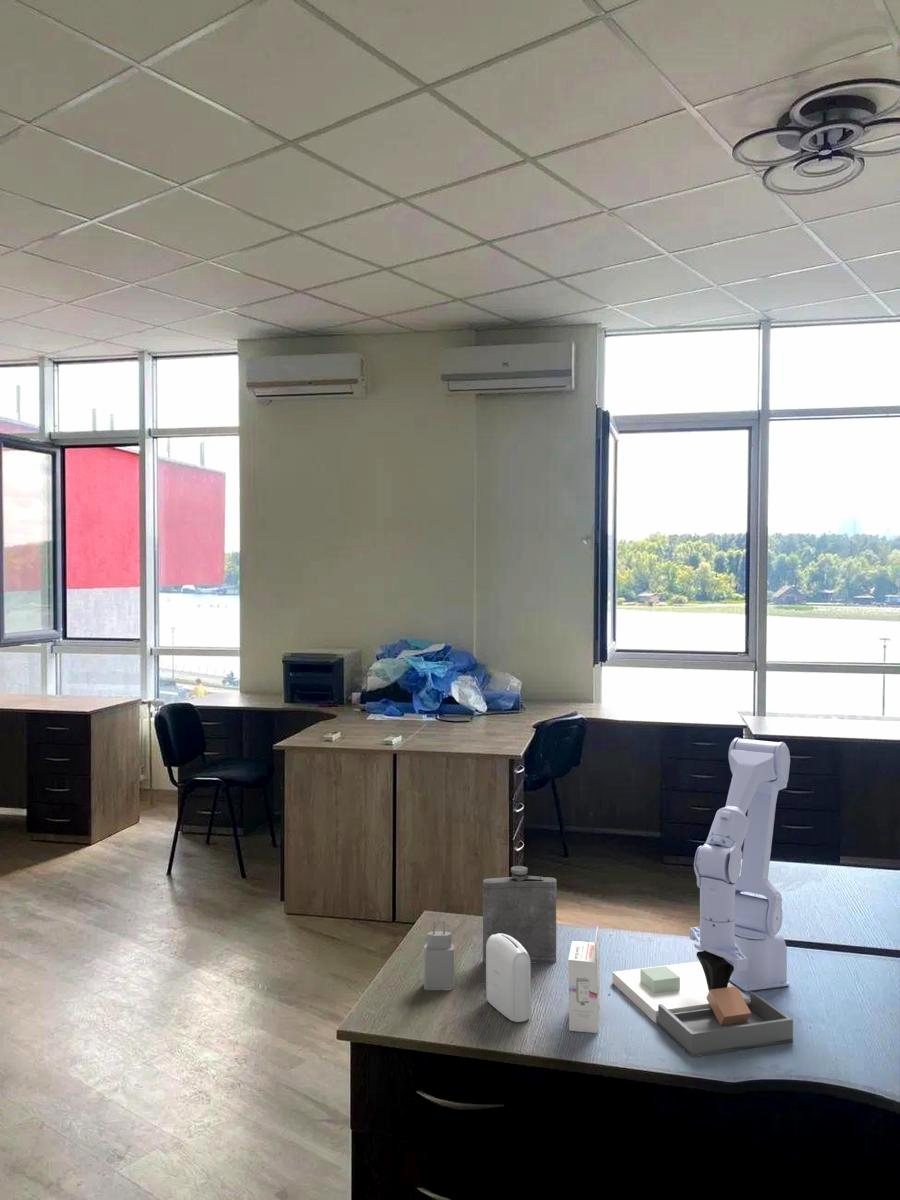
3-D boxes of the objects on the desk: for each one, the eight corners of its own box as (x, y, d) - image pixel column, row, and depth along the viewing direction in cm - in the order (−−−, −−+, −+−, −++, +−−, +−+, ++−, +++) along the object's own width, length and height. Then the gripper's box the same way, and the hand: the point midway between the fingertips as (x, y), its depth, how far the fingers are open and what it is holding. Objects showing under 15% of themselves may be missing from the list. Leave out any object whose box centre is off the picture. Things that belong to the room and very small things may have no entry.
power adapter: (424, 982, 161) (424, 917, 161) (453, 982, 161) (453, 917, 162) (423, 990, 158) (423, 923, 158) (454, 990, 158) (454, 923, 158)
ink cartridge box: (570, 1007, 152) (571, 922, 152) (600, 1010, 151) (600, 924, 151) (567, 1031, 143) (567, 940, 143) (598, 1034, 142) (598, 943, 142)
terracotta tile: (732, 994, 150) (736, 986, 149) (747, 1021, 146) (751, 1013, 145) (706, 998, 148) (710, 989, 147) (720, 1025, 144) (724, 1016, 143)
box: (751, 1010, 151) (751, 990, 151) (792, 1041, 140) (792, 1019, 140) (656, 1024, 146) (656, 1002, 146) (691, 1057, 135) (691, 1034, 135)
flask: (481, 957, 173) (481, 865, 173) (553, 955, 174) (554, 864, 174) (483, 965, 169) (483, 871, 169) (557, 963, 170) (557, 870, 170)
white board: (699, 971, 166) (699, 961, 166) (750, 1009, 151) (750, 998, 151) (612, 982, 161) (612, 971, 161) (655, 1023, 146) (655, 1011, 146)
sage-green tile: (665, 978, 159) (665, 965, 159) (679, 989, 154) (679, 977, 154) (640, 981, 157) (640, 969, 157) (654, 993, 153) (654, 980, 153)
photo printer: (482, 1000, 154) (482, 929, 154) (504, 995, 156) (504, 925, 156) (512, 1025, 145) (512, 950, 145) (534, 1020, 147) (534, 946, 147)
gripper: (674, 904, 156) (674, 981, 156) (720, 934, 142) (720, 1018, 142) (709, 900, 158) (709, 976, 158) (758, 930, 144) (758, 1013, 144)
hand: (717, 996), depth 150 cm, fingers closed
